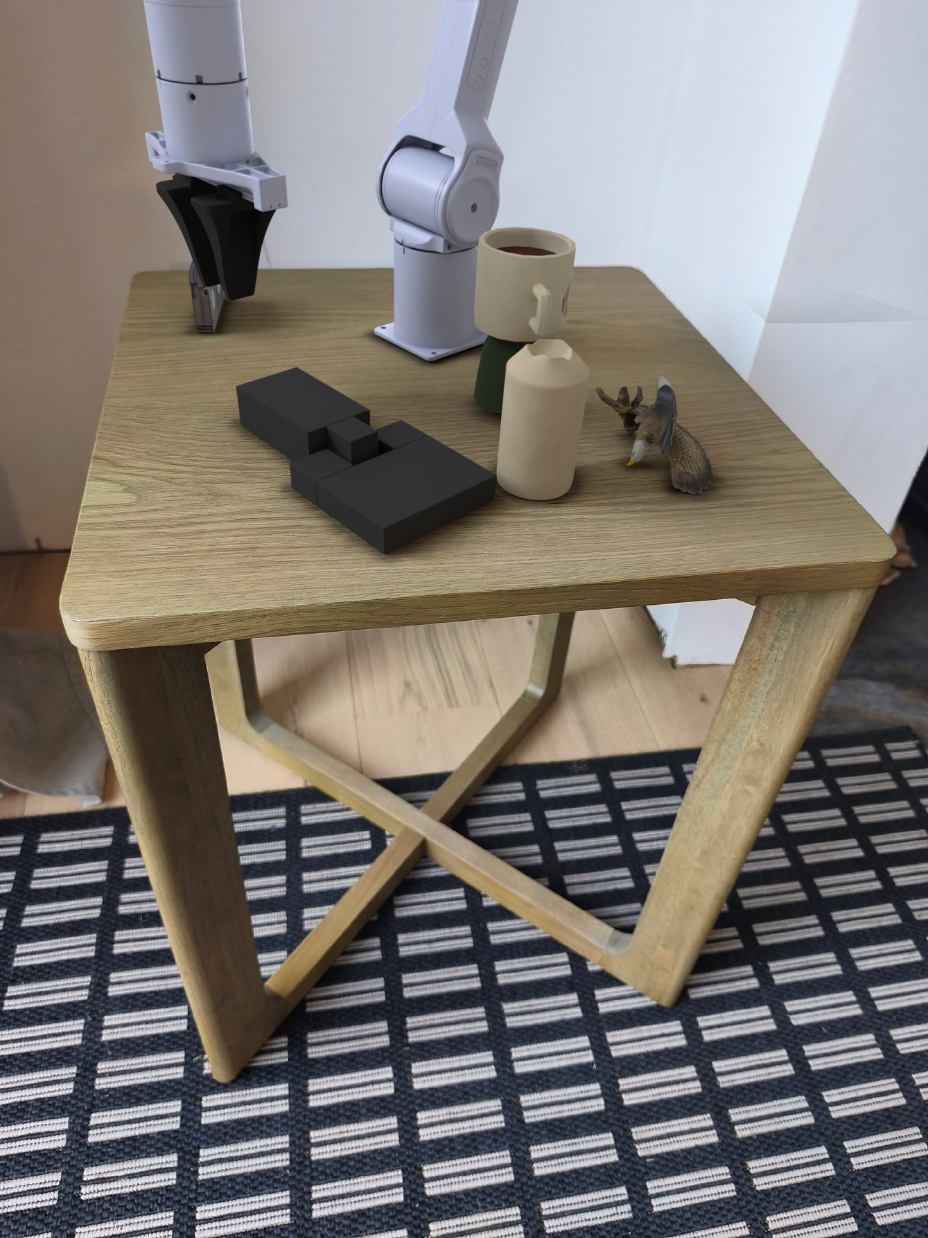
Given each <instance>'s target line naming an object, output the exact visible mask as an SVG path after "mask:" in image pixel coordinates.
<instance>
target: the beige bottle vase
mask: <svg viewBox="0 0 928 1238" xmlns="http://www.w3.org/2000/svg"><path fill="white" fill-rule="evenodd" d="M590 376H591V370H590V368H589V366H588V365H587V364H586V362H585V361H584V360H583V359H582V358H581V356H580V355H579V354H577V353H576V351H575V350H574V349H573V348H572V347H571V346H570V345H569V344H568V343H567V342H566V341H565V340H563V339H557V338H556V339H552V338H549V339H540V340H538V341H536V342H535V343H534V344H527V345H526V346H525V347H524V348H523V349H521V350H520V351H519V352H518V353H516V354H515V355H514V356H513V357H512V358H510V359H509V360H508V362H507V365H506V375H505V386H504V396H503V407H502V413H501V420H500V430H499V442H498V449H497V450H498V452H497V461H496V462H497V463H496V475H497V483H498V485H499V486H500V487H501V488H502V489H503V490H504V491H506V492H508V493H509V494H511V495H513V496H515V497H518V498H521V499H525V500H526V499H527V500H533V501H547V500H553V499H557V498H560V497H562V496H564V495H565V494H566V493H568V492H569V491H570V489H571V487H572V484H573V481H574V476H575V471H576V470H575V469H576V463H577V459H578V458H577V457H578V451H579V446H580V441H581V433H582V426H583V421H584V416H585V415H584V414H585V408H586V402H587V396H588V389H589V383H590Z"/></svg>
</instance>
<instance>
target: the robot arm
mask: <svg viewBox="0 0 928 1238" xmlns="http://www.w3.org/2000/svg"><path fill="white" fill-rule="evenodd" d="M519 1H520V0H443V3H442V8H441V13H440V16H439V21H438V25H437V31H436V35H435V39H434V43H433V48H432V53H431V57H430V61H429V66H428V70H427V74H426V79H425V84H424V87H423V93H422V97H421V99H420V101H418V103H417V104H415V106H413V107H412V108H411V109H410V110H409V111H408V112H406V113H405V114H404V115H403V116H402V117H401V118H400V119H399V120H398V121H397V122H396V126H395V132H394V135H393V138H392V141H391V144H390V146H389V148H388V149H387V151H386V153H385V154H384V156H383V157H382V159H381V161H380V163H379V166H378V169H377V171H376V172H377V173H376V178H375V192H376V198H377V201H378V204H379V206H380V208H381V209H382V211H383V212H384V213H385V214H386V216H388V217H389V230H390V231H391V232H392V233H393V321H392V322H389V323H386V324H383V325H380V326H377V327H374V328H373V334H374V335H376V336H378V337H380V338H382V339H384V340H386V341H388V342H390V343H391V344H394V345H395V346H397V347H399V348H401V349H402V350H406V351H407V352H409V353H411V354H413V355H415V356H417V357H419V358H421V359H423V360H425V361H427V362H434V361H437V360H440V359H442V358H445V357H448V356H451V355H454V354H457V353H460V352H462V351H466V350H468V349H471V348H474V347H477V346H480V345H483V344H484V342H485V340H486V338H487V336H488V334H485V333H483V332H482V331H481V330H479V329H478V328H477V327H476V326H475V317H474V304H475V289H476V273H477V258H478V243H479V237H480V236H481V235H482V234H483V233H485V232H487V231H490V230H492V228H493V226H494V224H495V222H496V219H497V217H498V213H499V208H500V200H501V199H500V197H501V195H500V194H501V193H500V178H501V171H502V167H503V164H504V160H505V155H504V152H503V150H502V148H501V145H500V144H499V142H498V140H497V138H496V136H495V135H494V132H493V131H492V129H491V126H490V125H489V122H488V121H489V117H490V113H491V109H492V105H493V102H494V98H495V94H496V90H497V86H498V82H499V79H500V75H501V71H502V68H503V63H504V59H505V56H506V51H507V48H508V44H509V40H510V36H511V32H512V28H513V24H514V21H515V15H516V12H517V9H518V5H519ZM143 5H144V13H145V20H146V27H147V33H148V39H149V45H150V52H151V58H152V64H153V71H154V77H155V83H156V84H155V85H156V89H157V95H158V96H157V97H158V103H159V108H160V116H161V122H162V127H163V130H157V131H156V130H155V131H148V132H145V133H144V137H145V143H146V148H147V154H148V161H149V162H150V163H151V164H152V167H153V169H154V170H156V171H158V172H160V173H162V174H165V175H172V176H171V177H172V179H167V180H166V179H165V180H160V181H158V182H156V183H155V189H156V193H157V194H158V196H159V197H160V199H161V200H162V202H164V204H165V206H166V207H167V209H168V210H169V212H170V214H171V215H172V217H173V219H174V221H175V222H176V224H177V226H178V229H179V230H180V232H181V235H182V237H183V240H184V241H185V245H186V246H187V249H188V251H189V254H190V257H191V261H192V260H193V262H194V265H195V268H196V270H197V273H198V275H199V278H200V280H201V282H202V284H203V285H204V286H206V287H211V286H215V285H219V284H221V286H222V289H223V295H224V298H226V299H227V300H229V301H236V300H240V299H244V298H245V299H246V298H248V297H252V296H255V291H256V286H257V280H258V279H257V278H258V273H259V272H258V271H259V264H260V258H261V253H262V249H263V244H264V242H265V241H264V240H265V237H266V234H267V232H268V228H269V226H270V224H271V221H272V219H273V217H274V215H275V213H276V212H277V210H280V209H285V208H288V207H289V202H288V189H287V177H286V175H285V174H283V173H281V172H279V171H277V170H275V169H274V168H273V167H272V166H271V165H270V164H269V163H268V162H267V161H266V160H265V159H264V158H263V157H262V156H261V155H260V153H258V152H257V151H256V150H255V147H254V134H253V124H252V123H253V122H252V114H251V113H252V112H251V104H250V93H249V82H248V81H249V80H248V73H247V61H246V52H245V39H244V29H243V21H242V20H243V19H242V9H241V0H143ZM445 148H447V149H448V150H450V151H451V153H452V155H450V154H447V153H445V152H440V151H442V150H443V149H445Z"/></svg>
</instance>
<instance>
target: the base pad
mask: <svg viewBox="0 0 928 1238" xmlns="http://www.w3.org/2000/svg"><path fill="white" fill-rule="evenodd" d="M375 430H377V431H378V456H377V457H375V458H372V459H370V460H367V461H365V462H363V463H360V464H358V465H355V466H353V465H352V464H350V463H349V462H347V461H346V460H344V459H343V458H341V457H340V456H338V455H337V454H335V453H333V452H332V451H330V450H329V449H325V450H322V451H319V452H317V453H314V454H312V455H309V456H306V457H304V458H301V459H299V460H296V461H291V462H289V472H290V483H291V484H290V485H291V489H293V490H294V491H295V492H297V493H298V494H299V495H301V496H302V497H304V498H305V499H306V500H308V501H309V502H311V503H312V504H313V505H315V506H316V507H318V508H319V509H320V510H322V511H324V512H325V513H326V514H328V515H329V516H330V517H332V518H333V519H335V520H336V521H337V522H338V523H339V524H341V525H343V526H345V527H346V528H347V529H348V530H350V531H352V532H353V533H354V534H356V535H357V536H359V538H361V539H362V540H364V541H366V542H367V543H368V544H370V545H371V546H372V547H374V548H375V549H376V550H377V551H379V552H381V553H382V554H384V555H385V554H388V553H390V552H391V551H393V550H395V549H398V548H399V547H401V546H404V545H405V544H407V543H409V542H412V541H414V540H415V539H418V538H420V537H422V536H424V535H426V534H428V533H430V532H433V531H434V530H436V529H438V528H440V527H443V526H445V525H446V524H448V523H450V522H452V521H454V520H456V519H459V518H460V517H463V516H464V515H467V514H468V513H470V512H472V511H474V510H476V509H478V508H481V507H482V506H485V505H486V504H488V503H491V502H492V501H495V499H496V492H497V491H496V490H497V482H498V480H497V473H494V472H492V471H491V470H489V469H488V468H486V467H484V466H482V465H481V464H479V463H477V462H475V461H473V460H472V459H470V458H469V457H467V456H465V455H464V454H461V453H460V452H458V451H456V450H454V449H453V448H452V447H449V446H448V445H447V444H444V443H443V442H441V441H439V440H437V439H435V438H434V437H432V436H430V435H429V434H427V433H425V432H423V431H422V430H420V429H418V428H417V427H415V426H413V425H411V424H409V423H408V422H406V421H404V420H403V419H400V420H397V421H395V422H392V423H389V424H387V425H384V426H382V427H379V428H376V429H375Z"/></svg>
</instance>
